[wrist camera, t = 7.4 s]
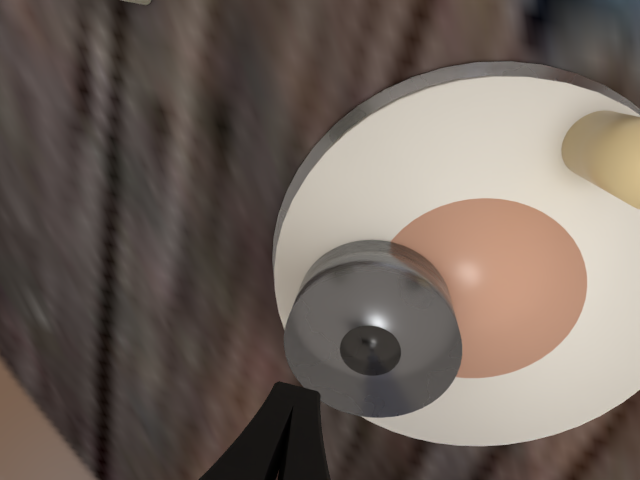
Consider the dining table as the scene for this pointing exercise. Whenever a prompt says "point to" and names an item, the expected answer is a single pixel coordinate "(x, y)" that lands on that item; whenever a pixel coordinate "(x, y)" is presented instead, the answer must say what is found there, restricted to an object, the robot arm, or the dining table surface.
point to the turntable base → (422, 81)
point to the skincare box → (139, 1)
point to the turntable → (496, 244)
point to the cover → (374, 330)
